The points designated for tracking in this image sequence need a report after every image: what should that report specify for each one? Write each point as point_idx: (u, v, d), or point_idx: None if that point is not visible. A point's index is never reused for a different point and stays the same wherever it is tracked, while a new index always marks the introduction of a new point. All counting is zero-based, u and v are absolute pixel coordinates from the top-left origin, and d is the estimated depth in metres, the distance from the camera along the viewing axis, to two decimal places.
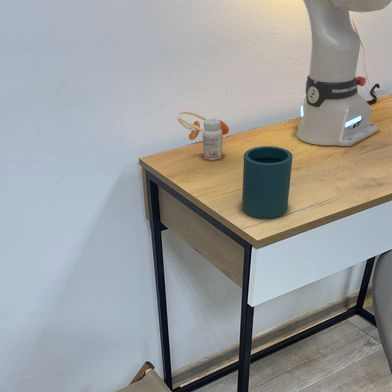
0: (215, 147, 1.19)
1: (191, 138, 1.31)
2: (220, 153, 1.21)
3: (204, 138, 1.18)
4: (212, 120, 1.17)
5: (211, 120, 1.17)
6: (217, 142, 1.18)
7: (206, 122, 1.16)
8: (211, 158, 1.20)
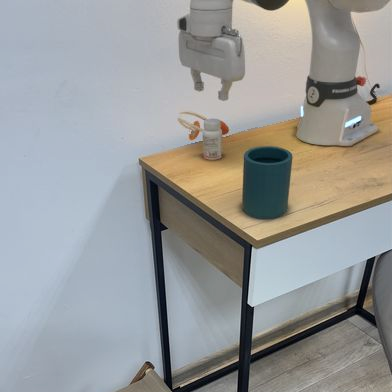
0: (215, 148, 1.19)
1: (191, 138, 1.31)
2: (220, 153, 1.21)
3: (204, 138, 1.18)
4: (212, 120, 1.17)
5: (211, 120, 1.17)
6: (217, 142, 1.18)
7: (206, 122, 1.16)
8: (211, 158, 1.20)
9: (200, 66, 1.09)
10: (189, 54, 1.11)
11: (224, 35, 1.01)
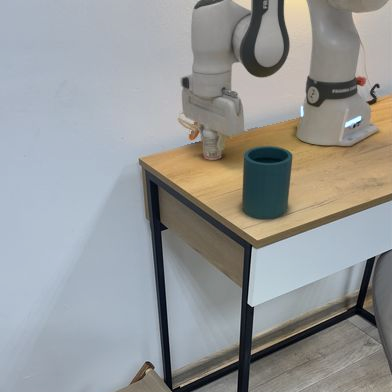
0: (215, 148, 1.19)
1: (191, 138, 1.31)
2: (220, 153, 1.20)
3: (204, 138, 1.18)
4: None
5: None
6: None
7: None
8: (211, 158, 1.20)
9: (202, 120, 1.17)
10: (191, 108, 1.18)
11: (224, 95, 1.09)
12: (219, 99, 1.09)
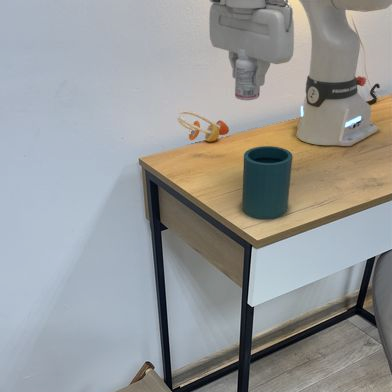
0: (251, 83, 0.92)
1: (191, 138, 1.31)
2: (257, 92, 0.94)
3: (238, 70, 0.91)
4: None
5: None
6: None
7: None
8: (245, 97, 0.94)
9: (236, 46, 0.90)
10: (222, 32, 0.92)
11: (269, 6, 0.82)
12: (262, 11, 0.82)
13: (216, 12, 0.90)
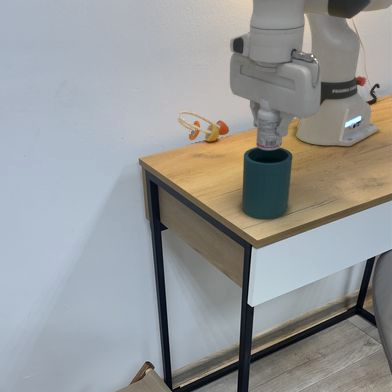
0: (274, 134, 0.89)
1: (191, 138, 1.31)
2: (280, 141, 0.91)
3: (260, 121, 0.89)
4: None
5: None
6: None
7: None
8: (268, 148, 0.91)
9: (259, 97, 0.87)
10: (243, 81, 0.89)
11: (294, 60, 0.79)
12: (288, 65, 0.79)
13: (237, 62, 0.88)
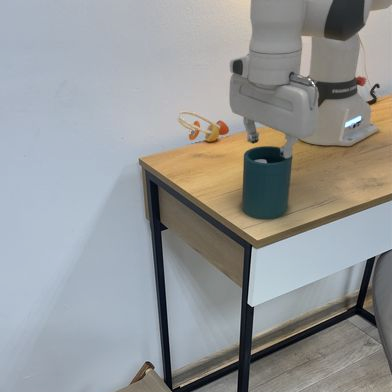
0: None
1: (191, 138, 1.31)
2: None
3: None
4: None
5: None
6: None
7: None
8: None
9: (258, 116, 0.89)
10: (243, 101, 0.91)
11: (292, 83, 0.81)
12: (286, 88, 0.81)
13: (237, 82, 0.90)
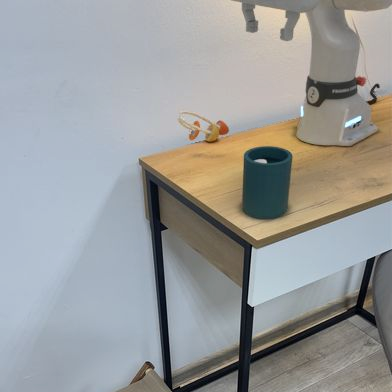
0: None
1: (191, 138, 1.31)
2: None
3: None
4: None
5: None
6: None
7: None
8: None
9: None
10: None
11: None
12: None
13: None
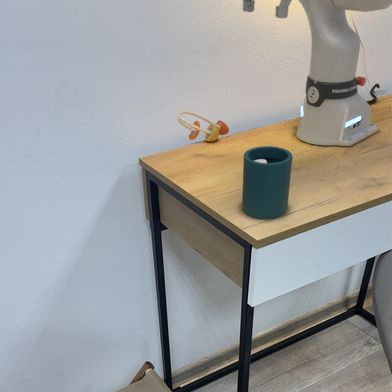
0: None
1: (191, 138, 1.31)
2: None
3: None
4: None
5: None
6: None
7: None
8: None
9: None
10: None
11: None
12: None
13: None
